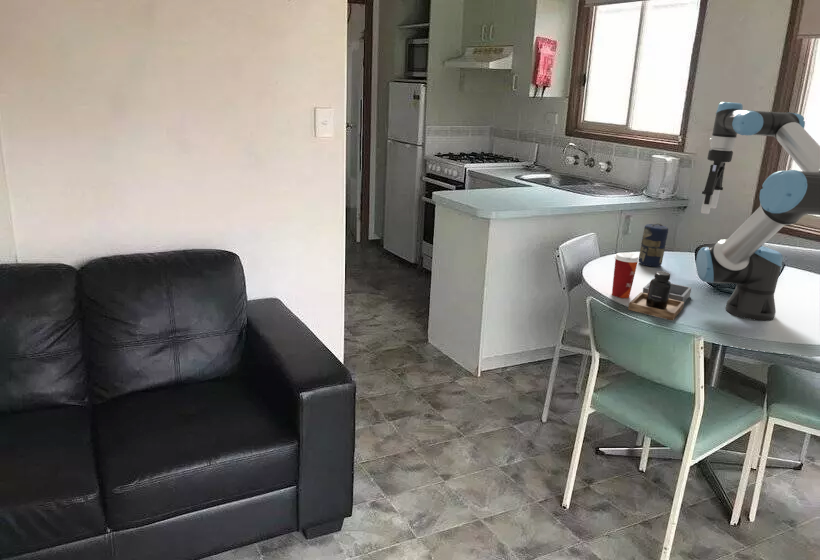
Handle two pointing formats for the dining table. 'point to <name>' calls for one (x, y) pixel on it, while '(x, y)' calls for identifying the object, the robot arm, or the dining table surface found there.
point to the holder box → (675, 292)
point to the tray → (668, 313)
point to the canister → (653, 245)
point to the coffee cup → (624, 274)
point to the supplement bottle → (659, 290)
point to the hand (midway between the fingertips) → (708, 210)
